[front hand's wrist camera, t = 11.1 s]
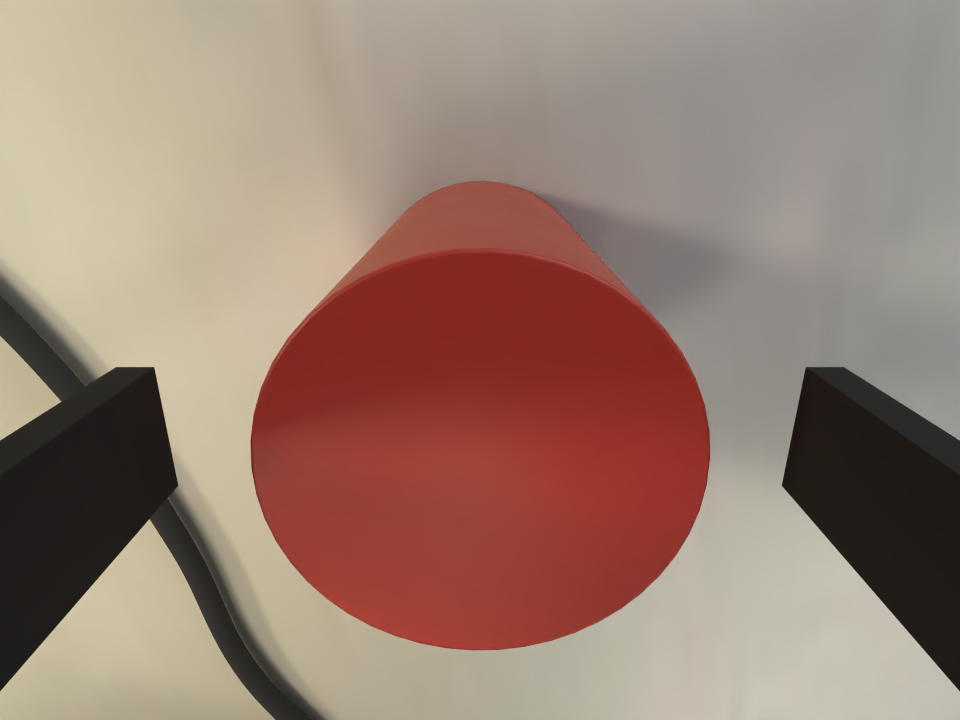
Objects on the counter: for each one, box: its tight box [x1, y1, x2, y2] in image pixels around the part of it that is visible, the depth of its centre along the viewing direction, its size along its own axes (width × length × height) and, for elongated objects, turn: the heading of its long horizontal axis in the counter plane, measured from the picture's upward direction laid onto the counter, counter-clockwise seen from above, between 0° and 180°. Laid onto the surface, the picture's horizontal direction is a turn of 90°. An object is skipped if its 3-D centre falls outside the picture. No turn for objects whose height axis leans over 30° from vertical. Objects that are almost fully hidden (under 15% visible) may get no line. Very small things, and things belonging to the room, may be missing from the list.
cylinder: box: [251, 181, 710, 650], centre depth 16 cm, size 8×8×13 cm
